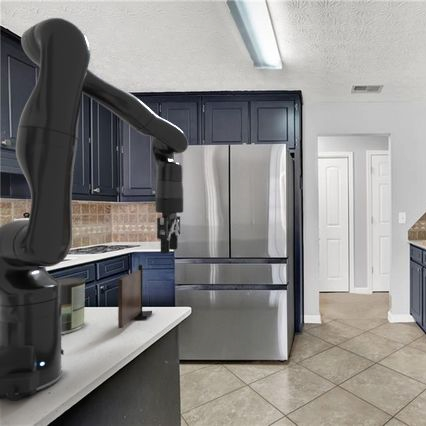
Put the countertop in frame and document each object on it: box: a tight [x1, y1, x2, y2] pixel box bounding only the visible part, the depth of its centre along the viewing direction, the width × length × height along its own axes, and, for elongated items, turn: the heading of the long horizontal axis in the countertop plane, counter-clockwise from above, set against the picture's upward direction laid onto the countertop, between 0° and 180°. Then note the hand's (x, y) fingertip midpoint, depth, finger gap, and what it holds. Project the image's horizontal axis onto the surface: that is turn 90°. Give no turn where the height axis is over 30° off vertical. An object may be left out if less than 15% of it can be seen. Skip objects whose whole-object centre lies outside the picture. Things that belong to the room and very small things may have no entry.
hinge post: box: [132, 264, 153, 321], centre depth 98 cm, size 5×6×17 cm
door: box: [117, 269, 141, 329], centre depth 92 cm, size 13×1×14 cm, turn 10°
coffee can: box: [55, 277, 86, 335], centre depth 88 cm, size 10×10×14 cm
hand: (169, 251), depth 90 cm, fingers open, 7 cm apart
